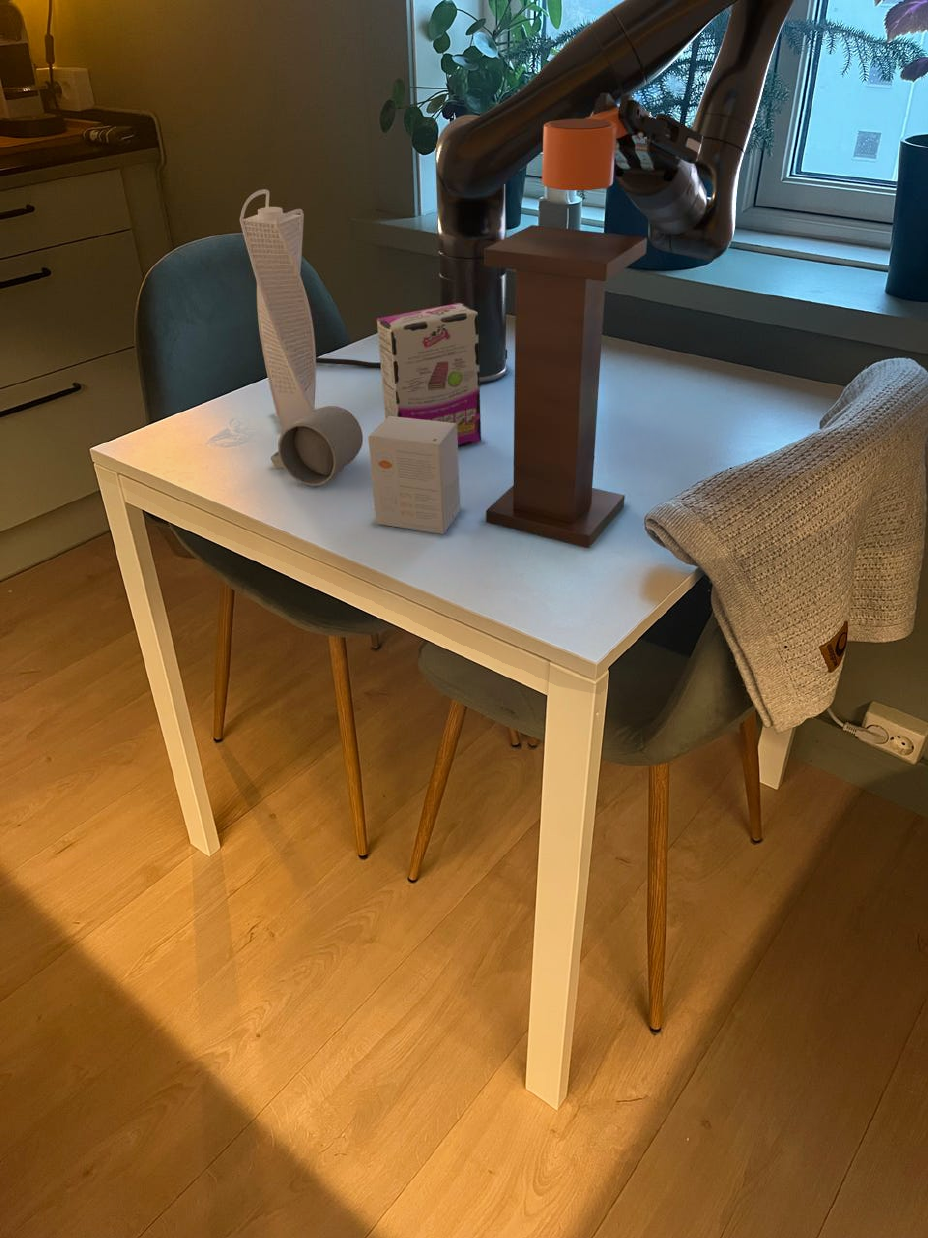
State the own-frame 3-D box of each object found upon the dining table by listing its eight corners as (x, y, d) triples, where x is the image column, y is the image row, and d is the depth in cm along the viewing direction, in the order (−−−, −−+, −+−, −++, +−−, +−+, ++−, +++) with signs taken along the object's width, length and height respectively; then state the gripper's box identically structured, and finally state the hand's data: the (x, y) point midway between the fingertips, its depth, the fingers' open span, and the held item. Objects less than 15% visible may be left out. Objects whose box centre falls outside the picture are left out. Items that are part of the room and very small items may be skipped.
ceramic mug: (369, 461, 116) (363, 401, 112) (339, 491, 110) (331, 428, 106) (292, 451, 120) (284, 392, 115) (259, 479, 113) (248, 418, 109)
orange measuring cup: (599, 156, 98) (603, 101, 95) (659, 160, 95) (664, 105, 92) (530, 186, 86) (531, 125, 83) (596, 192, 84) (599, 130, 81)
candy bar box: (463, 428, 124) (460, 300, 114) (482, 442, 120) (480, 311, 111) (384, 447, 120) (374, 316, 110) (401, 462, 116) (392, 328, 107)
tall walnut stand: (526, 484, 111) (531, 224, 94) (624, 506, 106) (647, 237, 89) (485, 522, 104) (483, 248, 87) (588, 548, 99) (606, 263, 82)
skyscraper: (265, 413, 129) (232, 190, 113) (319, 405, 131) (295, 184, 115) (274, 436, 123) (240, 203, 107) (331, 428, 125) (306, 198, 109)
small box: (461, 511, 106) (459, 422, 100) (444, 536, 101) (440, 444, 95) (394, 501, 108) (388, 413, 102) (374, 525, 104) (367, 434, 98)
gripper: (608, 135, 107) (555, 59, 91) (729, 144, 101) (694, 64, 86) (592, 204, 108) (536, 140, 93) (710, 216, 103) (672, 150, 87)
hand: (612, 104), depth 89 cm, fingers closed on orange measuring cup
